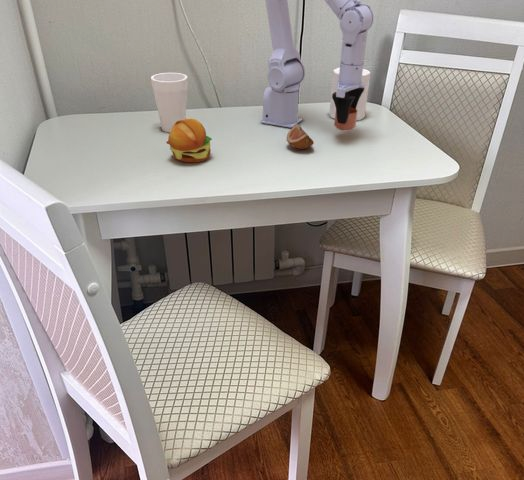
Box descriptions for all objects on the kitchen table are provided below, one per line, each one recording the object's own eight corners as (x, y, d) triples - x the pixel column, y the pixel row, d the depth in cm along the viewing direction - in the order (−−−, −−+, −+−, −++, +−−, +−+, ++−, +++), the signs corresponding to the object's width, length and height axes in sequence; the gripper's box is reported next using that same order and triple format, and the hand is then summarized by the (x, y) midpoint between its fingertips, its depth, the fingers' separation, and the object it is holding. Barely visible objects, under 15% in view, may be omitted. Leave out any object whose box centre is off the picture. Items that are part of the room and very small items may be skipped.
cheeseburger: (219, 151, 137) (215, 113, 129) (203, 176, 131) (197, 139, 123) (183, 145, 139) (176, 108, 131) (165, 169, 134) (157, 132, 126)
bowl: (331, 128, 144) (332, 111, 141) (338, 122, 148) (339, 105, 145) (351, 132, 142) (353, 114, 139) (357, 126, 146) (360, 108, 143)
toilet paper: (322, 116, 160) (326, 71, 152) (341, 108, 166) (345, 64, 158) (352, 123, 155) (358, 77, 147) (370, 115, 162) (376, 70, 154)
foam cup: (197, 127, 151) (194, 76, 142) (176, 136, 145) (172, 84, 136) (171, 120, 155) (166, 70, 146) (149, 129, 149) (143, 78, 140)
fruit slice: (317, 153, 137) (319, 133, 134) (292, 155, 136) (293, 135, 133) (307, 141, 144) (308, 122, 140) (282, 143, 142) (283, 124, 139)
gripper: (358, 71, 129) (351, 130, 137) (375, 58, 139) (367, 114, 147) (330, 67, 131) (325, 125, 140) (349, 55, 141) (343, 110, 150)
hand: (345, 119), depth 144 cm, fingers closed on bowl, 5 cm apart
